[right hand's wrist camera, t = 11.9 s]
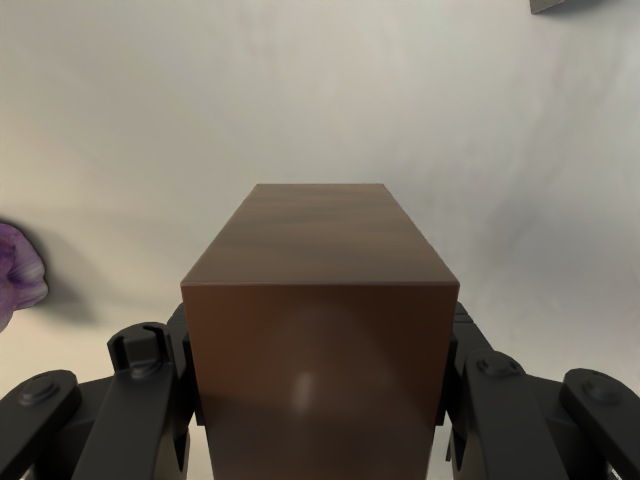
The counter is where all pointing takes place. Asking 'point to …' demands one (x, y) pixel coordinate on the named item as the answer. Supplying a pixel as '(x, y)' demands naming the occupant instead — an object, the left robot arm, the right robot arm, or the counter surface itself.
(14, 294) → the figurine
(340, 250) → the walnut bar
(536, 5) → the slate cube
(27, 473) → the left robot arm
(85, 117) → the counter surface
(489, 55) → the counter surface
